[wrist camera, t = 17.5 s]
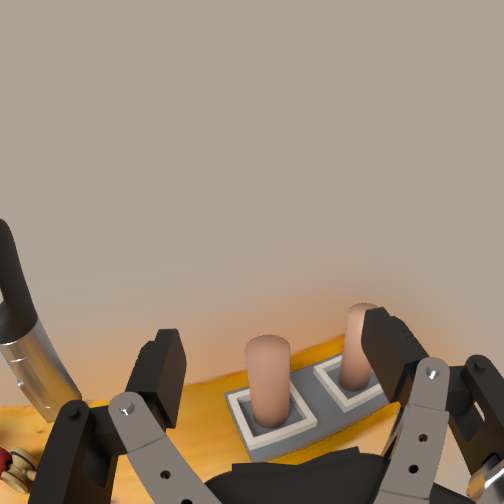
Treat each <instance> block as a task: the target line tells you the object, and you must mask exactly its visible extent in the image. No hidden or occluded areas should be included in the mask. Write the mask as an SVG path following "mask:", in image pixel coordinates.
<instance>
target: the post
mask: <svg viewBox="0 0 504 504" xmlns="http://www.w3.org/2000/svg"><path fill="white" fill-rule="evenodd" d="M245 357H246V365H247V373H248V382H249V390H250V398H251V405H252V413H253V419H254V421H255V423H256V424H258V425H259V426H261V427H263V428H268V429H272V428H277V427H280V426H282V425H283V424H284V423H285V422H286V421H287V419H288V417H289V391H290V345H289V343H288V342H287V341H286V340H285V339H284V338H282V337H279V336H275V335H263V336H259V337H256V338H254V339H252V340H250V341H249V343H248V344H247V345H246V347H245Z"/></svg>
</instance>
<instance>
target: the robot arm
mask: <svg viewBox="0 0 504 504" xmlns="http://www.w3.org/2000/svg"><path fill="white" fill-rule="evenodd" d="M0 289H1V292H2V295H3V299H4V300H3V302H2V303H1V304H0V351H1V353H2V355H3V356H4V358H5V360H6V361H7V363H8V365H9V366H10V368H11V369H12V371H13V372H14V374H15V375H16V377H17V380H18V385H19V387H20V388H21V390H22V391H23V393H24V394H25V395H26V397H27V398H28V399H29V401H30V402H31V403H32V405H33V406H34V407H35V408H36V410H37V411H38V412H39V413H40V415H41V416H42V417H43V418H44V419H45V420H46V422H47V423H49V422H51V421H55V423H54V425H53V428H52V430H51V433H50V435H49V438H48V441H47V443H46V446H45V449H44V452H43V455H42V457H41V460H40V463H39V466H38V469H37V473H36V476H35V479H34V482H33V486H32V489H31V493H30V496H29V500H28V504H110V502H111V495H112V489H113V483H114V477H115V472H116V466H117V461H118V456H119V455H124V454H127V457H128V459H129V461H130V463H131V465H132V467H133V468H134V470H135V472H136V474H137V475H138V477H139V479H140V481H141V482H142V484H143V485H144V487H145V489H146V490H147V492H148V493H149V495H150V497H151V498H152V500H153V501H154V503H155V504H504V379H503V377H502V376H501V375H500V373H499V372H498V370H497V369H496V368H495V366H494V365H493V364H492V363H491V361H490V360H489V359H488V358H486V357H485V356H482V355H472V356H470V357H469V358H468V360H467V361H466V363H465V365H464V366H448V365H447V364H446V363H445V362H444V361H443V360H441V359H439V358H436V357H429V355H428V354H427V353H426V351H425V350H424V348H423V347H422V346H421V344H420V343H419V342H418V340H417V339H416V338H415V337H414V336H413V334H412V332H411V331H409V328H408V327H407V326H406V324H405V323H404V322H403V321H402V320H400V319H398V318H397V317H395V316H390V315H389V313H388V312H387V311H386V310H385V308H384V307H378V308H372V309H367V310H366V311H365V315H364V322H363V328H362V334H361V346H362V350H363V352H364V354H365V356H366V358H367V360H368V362H369V364H370V366H371V367H372V369H373V371H374V373H375V375H376V377H377V379H378V382H379V384H380V386H381V388H382V390H383V392H384V394H385V396H386V398H387V400H388V402H389V404H390V403H394V402H397V401H399V403H400V408H399V410H398V413H397V416H396V419H395V422H394V425H393V427H392V430H391V433H390V436H389V438H388V441H387V443H386V446H385V447H384V449H383V451H382V453H381V455H375V454H370V453H360V452H359V449H358V446H356V447H352V448H348V449H344V450H339V451H335V452H330V453H327V454H324V455H322V456H320V457H317V458H315V459H312V460H310V461H307V462H305V463H302V464H299V465H288V464H277V463H268V462H256V463H236V464H232V471H229V472H226V473H223V474H220V475H218V476H215V477H213V478H211V479H210V480H208V481H207V482H205V483H203V482H202V481H201V479H200V478H199V477H198V476H197V475H196V473H195V472H194V471H193V470H192V468H191V467H190V466H189V465H188V463H187V462H186V461H185V459H184V458H183V457H182V456H181V454H180V453H179V452H178V450H177V449H176V447H175V446H174V445H173V443H172V442H171V441H170V439H169V438H168V436H167V435H166V434H165V433H166V428H172V429H175V427H176V422H177V416H178V410H179V404H180V399H181V393H182V388H183V383H184V377H185V372H186V356H185V352H184V349H183V346H182V342H181V339H180V336H179V332H178V330H177V329H159V330H158V333H157V335H156V338H155V341H148V342H147V343H146V344H145V345H144V346H143V347H142V348H141V350H140V353H139V355H138V359H137V360H136V363H135V366H134V368H133V371H132V373H131V376H130V379H129V381H128V384H127V386H126V389H125V392H123V393H120V394H118V395H116V396H115V397H114V398H113V399H112V400H111V401H110V403H109V405H107V406H101V407H94V408H89V406H88V405H87V404H86V403H85V402H84V401H82V396H81V393H80V391H79V390H78V388H77V386H76V385H75V384H74V382H73V380H72V379H71V377H70V375H69V374H68V372H67V370H66V369H65V367H64V365H63V364H62V362H61V360H60V358H59V357H58V355H57V353H56V351H55V349H54V348H53V345H52V344H51V342H50V340H49V338H48V336H47V334H46V332H45V330H44V328H43V326H42V323H41V321H40V319H39V317H38V315H37V313H36V310H35V308H34V305H33V303H32V299H31V296H30V293H29V290H28V287H27V284H26V281H25V279H24V275H23V272H22V269H21V265H20V261H19V257H18V254H17V250H16V246H15V242H14V239H13V236H12V233H11V231H10V228H9V226H8V225H7V223H6V222H5V221H4V220H2V219H0ZM475 402H477V403H478V405H479V407H480V408H481V410H482V412H483V413H484V417H485V421H483V419H482V417H481V415H480V414H479V412H478V410H477V408H476V407H475V405H474V403H475ZM448 424H449V427H450V429H451V431H452V433H453V435H454V437H455V439H456V442H457V444H458V446H459V448H460V450H461V453H462V455H463V457H464V460H465V462H466V465H467V467H468V470H469V472H470V475H471V478H470V481H469V485H468V489H467V492H466V493H467V496H468V497H469V498H468V497H465V496H463V495H461V494H458V493H456V492H454V491H451V490H449V489H447V488H445V487H443V486H441V485H438V484H436V483H434V479H435V476H436V472H437V469H438V465H439V461H440V457H441V454H442V449H443V445H444V440H445V435H446V431H447V425H448Z"/></svg>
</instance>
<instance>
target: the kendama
mask: <svg viewBox="0 0 504 504" xmlns="http://www.w3.org/2000/svg"><path fill="white" fill-rule="evenodd" d="M10 453H11V454H10ZM10 453H9V452H8V451H6V450H5V449H3V448H1V447H0V480H3V481H5V482H6V483H7V484H8V485H9V486H11V487H12V488H13V489H15V490H17V491H18V492H21V493H24V494H26V492H27V490H28V489H27V486H26V484H25V479H26V477H27V478H28V479H30V480H32V481H34V479H35V476H36V473H37V472H35V471H32V470H36V468H37V465H38V464H37V461H36V460H35V459H34V458H33V457H32V456H31V455H30V454H29V453H28V452H26V451H25V450H23V449H21V448H19V447H16V446H14V447H12V449H11V451H10Z"/></svg>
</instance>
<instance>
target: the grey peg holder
mask: <svg viewBox="0 0 504 504" xmlns="http://www.w3.org/2000/svg"><path fill="white" fill-rule="evenodd" d="M372 308H378V306H376V305H373V304H367V303H361V304H356V305H354V306H352V307H350V309H349V310H348V315H347V324H346V331H345V339H344V346H343V352H342V353H340V354H338V355H335V356H333V357H331V358H328V359H326V360H323V361H321V362H318V363H316V364H313V365H310V366H308V367H305V368H302V369H300V370H297V371H294V372H291V373H290V391H289V417H288V419H287V421H286V422H285V423H284V424H283V425H282V426H280V427H277V428H272V429H268V428H263V427H261V426H259V425H258V424H256V423H255V421H254V419H253V413H252V405H251V398H250V390H249V387H245V388H242V389H238V390H235V391H231V392H228V393H224V395H225V399H226V402H227V404H228V407H229V409H230V412H231V414H232V417H233V419H234V422H235V424H236V427H237V429H238V432H239V434H240V436H241V439H242V441H243V443H244V446H245V448H246V450H247V453H248V455H249V457H250V459H251V462H252V463H256V462H266V461H269V460H272V459H275V458H278V457H281V456H283V455H286V454H289V453H291V452H294V451H296V450H299V449H301V448H304V447H306V446H309V445H311V444H313V443H316V442H318V441H320V440H322V439H324V438H327V437H329V436H331V435H333V434H335V433H337V432H339V431H341V430H343V429H345V428H347V427H349V426H351V425H353V424H355V423H357V422H358V421H360V420H362V419H364V418H366V417H368V416H369V415H371V414H373V413H375V412H376V411H378V410H380V409H381V408H383V407H385V406H386V405H388V404H389V402H388V400H387V398H386V396H385V394H384V392H383V390H382V388H381V386H380V384H379V382H378V379H377V377H376V375H375V373H374V371H373V369H372V367H371V366H370V364H369V362H368V360H367V358H366V356H365V354H364V352H363V350H362V346H361V334H362V328H363V322H364V315H365V311H366V310H367V309H372Z"/></svg>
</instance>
